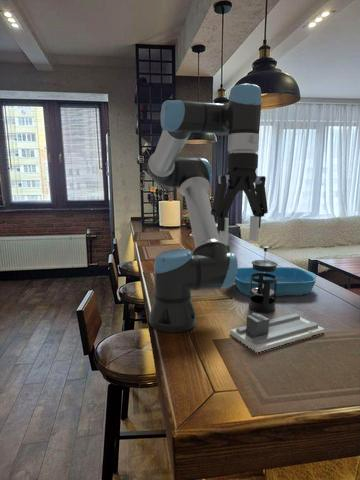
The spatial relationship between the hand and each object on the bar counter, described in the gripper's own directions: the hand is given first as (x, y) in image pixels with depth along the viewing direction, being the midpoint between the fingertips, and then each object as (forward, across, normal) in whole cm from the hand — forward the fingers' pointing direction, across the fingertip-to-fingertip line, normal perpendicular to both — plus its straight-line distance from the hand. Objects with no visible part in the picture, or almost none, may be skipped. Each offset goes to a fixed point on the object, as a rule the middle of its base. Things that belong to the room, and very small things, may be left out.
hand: (238, 241), depth 83 cm
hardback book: (+30, +37, +65) cm, 80 cm away
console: (+29, +16, 0) cm, 34 cm away
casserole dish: (+30, +43, +32) cm, 61 cm away
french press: (+30, +25, +17) cm, 42 cm away
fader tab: (+28, +8, 0) cm, 29 cm away
